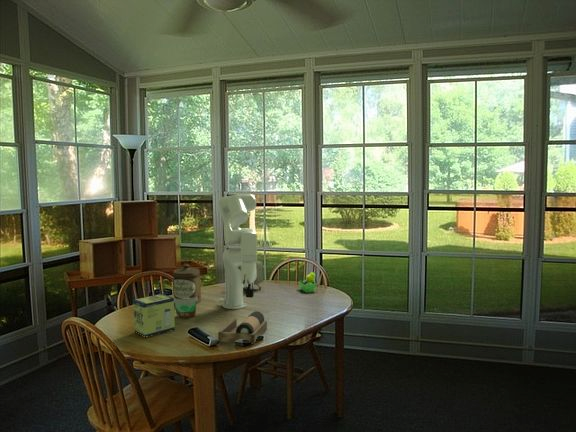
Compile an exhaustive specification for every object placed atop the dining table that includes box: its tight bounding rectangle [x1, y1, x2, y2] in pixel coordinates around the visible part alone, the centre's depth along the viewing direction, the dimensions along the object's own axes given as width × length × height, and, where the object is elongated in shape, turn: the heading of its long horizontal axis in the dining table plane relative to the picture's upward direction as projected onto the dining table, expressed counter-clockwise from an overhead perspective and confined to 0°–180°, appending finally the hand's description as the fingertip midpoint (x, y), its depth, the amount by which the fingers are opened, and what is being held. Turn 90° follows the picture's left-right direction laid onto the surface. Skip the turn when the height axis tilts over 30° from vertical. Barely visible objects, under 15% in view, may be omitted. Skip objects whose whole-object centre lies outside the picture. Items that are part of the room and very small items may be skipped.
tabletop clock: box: [238, 260, 265, 290], centre depth 297 cm, size 14×9×25 cm, turn 58°
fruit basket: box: [298, 271, 317, 293], centre depth 293 cm, size 11×9×11 cm
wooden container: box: [172, 263, 202, 305], centre depth 269 cm, size 15×15×22 cm
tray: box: [217, 318, 268, 345], centre depth 213 cm, size 16×20×4 cm
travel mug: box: [236, 310, 265, 334], centre depth 214 cm, size 8×8×20 cm
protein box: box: [132, 293, 176, 337], centre depth 220 cm, size 10×16×16 cm
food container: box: [173, 296, 198, 320], centre depth 241 cm, size 12×6×10 cm, turn 105°
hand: (249, 296), depth 222 cm, fingers closed
